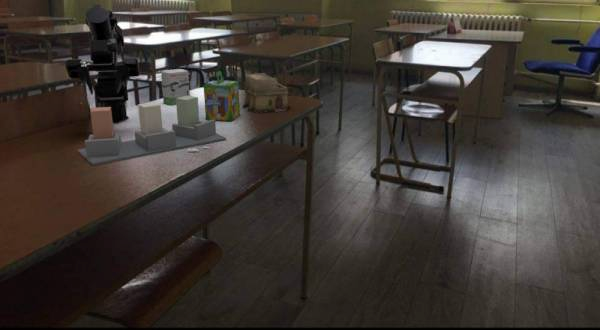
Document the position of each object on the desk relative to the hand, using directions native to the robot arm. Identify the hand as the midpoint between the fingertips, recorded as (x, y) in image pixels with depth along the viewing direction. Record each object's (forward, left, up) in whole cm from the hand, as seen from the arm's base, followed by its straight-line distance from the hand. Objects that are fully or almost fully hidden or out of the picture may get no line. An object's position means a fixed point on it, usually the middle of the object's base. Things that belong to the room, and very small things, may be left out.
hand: (104, 93), depth 137 cm
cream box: (+15, -3, -13) cm, 20 cm away
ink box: (-1, +46, -13) cm, 47 cm away
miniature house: (+33, +45, -13) cm, 58 cm away
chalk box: (+23, +30, -13) cm, 39 cm away
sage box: (+21, +8, -13) cm, 25 cm away
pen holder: (+17, +46, -13) cm, 50 cm away
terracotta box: (+5, -10, -13) cm, 17 cm away
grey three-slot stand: (+15, -3, -13) cm, 20 cm away
